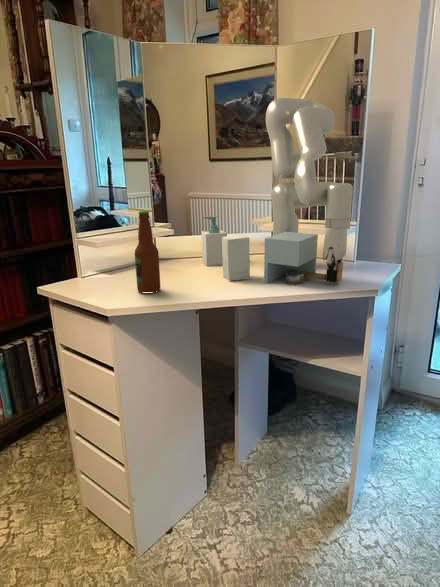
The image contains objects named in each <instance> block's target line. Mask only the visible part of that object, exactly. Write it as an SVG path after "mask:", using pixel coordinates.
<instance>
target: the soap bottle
mask: <svg viewBox="0 0 440 587" xmlns="http://www.w3.org/2000/svg"><path fill="white" fill-rule="evenodd" d="M217 218H219V215H216V216H202V219H205V220H206V219H207V220H211V224H209V225H210V226H209V227H210V228H208V230H201V256H202V258H201V259H202V260H201V262H202V261H203V262H204V263H203V262H202V263H203V264H204V265H205V266H206V267H213V266H212V265H217V266H223V255H222V237H228V233H227V232H226V231H224V230H222V229H220V228H219V227H218V224H216V222H217Z"/></svg>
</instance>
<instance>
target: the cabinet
mask: <svg viewBox="0 0 440 587" xmlns="http://www.w3.org/2000/svg"><path fill="white" fill-rule="evenodd" d="M318 239H319V236H318V234H316V233H304V232H298V233H293V232H284V233H280V234H277V235H274V236H273V235H271V236H269V237H265V238H264V254H265V256H264V255H263V259H264V260H263V261H264V263H263V267H264V269H263V272H264V274H263V283H264V284H268V283H271V282H272V281H274V280H276V279H278V278H280V277H282V276H284V275H285V270H287V269H290V270H298V271H305V272H313V273H317V271H316V270H317V257H318V256H317V255H318V254H317V253H318Z"/></svg>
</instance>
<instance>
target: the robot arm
mask: <svg viewBox="0 0 440 587" xmlns="http://www.w3.org/2000/svg"><path fill="white" fill-rule="evenodd" d="M287 125H292V126H293V129H294V133H295V137H296V140H297V144H298V149H299V151H296V148H295V140H294V136H293V134H292V133H291V131H290V129H289V128H288V127H287ZM335 125H336V118H335V114H334V111H332V109H331V108H329V107H328V106H325V105H324V104H322V103H319V102H318V101H315V100H312V99H306V98H296V97H295V98H294V97H279V98H275V99H273V100H271V102H270V103H268V106H267V109H266V112H265V126H266V131H267V133H268V137H269V142H270V154H271V162H272V163H271V164H272V171H273V174H274V175H273V176H274V177H275V178H277V179H279V180H293V181H292V182H291V181H289V182H288V181H287V182H281V183H278V184H276V185H275V186H274V187H273V188H272V189H271V193H270V194H271V195H270V198H271V199H270V200H271V205H272V206H271V207H272V213H273V216H272V220H273V221H272V232H273V233H272V236H274V235H277V234H280V233H284V232H293V233H299V228H300V227H299V216H298V215H297V213H296V212H295V211H296V210H295V209H304V208H311V207H326V208H325V209H326V210H325V227H324V228H325V229H326V230H325V234H324V239H323V240H324V242H323V248H322V249H323V250H322V259H323V261H326V262H325V263H326V271H327V278H326V280H325V282H327V281H329V282H328V283H334V282H336V281H337V270H336V268H337V262H343V258H344V257H346V254H347V243H348V230H350V229H351V228H350V227H351V217H352V208H353V207H352V206H353V194H354V188H353V185H352V184H351V183H350V182H349V183H348V182H339V183H338V182H335V181H317V173H316V164H315V161H317V160H318V159H321V157H323V156H324V155H325V154H326V152H327V149H328V148H327V145H326V140H325V136H324V135H328V134H330V133H331V132H332V131H333V130H334V128H335ZM263 254H264V255H263V257H264V256H265V253H263ZM332 262H335V263H332Z"/></svg>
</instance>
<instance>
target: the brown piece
mask: <svg viewBox="0 0 440 587" xmlns="http://www.w3.org/2000/svg"><path fill="white" fill-rule="evenodd" d="M332 263H335V262H332ZM343 265H344V262H343V261H342V262H337V268H336V270H337V281H336V282H333V283H335V284H339V283H340V282H341V281H342V280H343V267H344V266H343ZM287 272H301V273H304V279H305V278H306V279H312V280H313V279H314V280H320V281H321V280H322V281H326V278H327V270H326V271H325V272H326V273H320V272H316V273H313V272H305V271H298V270H290V269H287V270H285V274H284V275H285V276H286V273H287ZM326 282H327V283H330V282H329V281H326Z"/></svg>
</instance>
